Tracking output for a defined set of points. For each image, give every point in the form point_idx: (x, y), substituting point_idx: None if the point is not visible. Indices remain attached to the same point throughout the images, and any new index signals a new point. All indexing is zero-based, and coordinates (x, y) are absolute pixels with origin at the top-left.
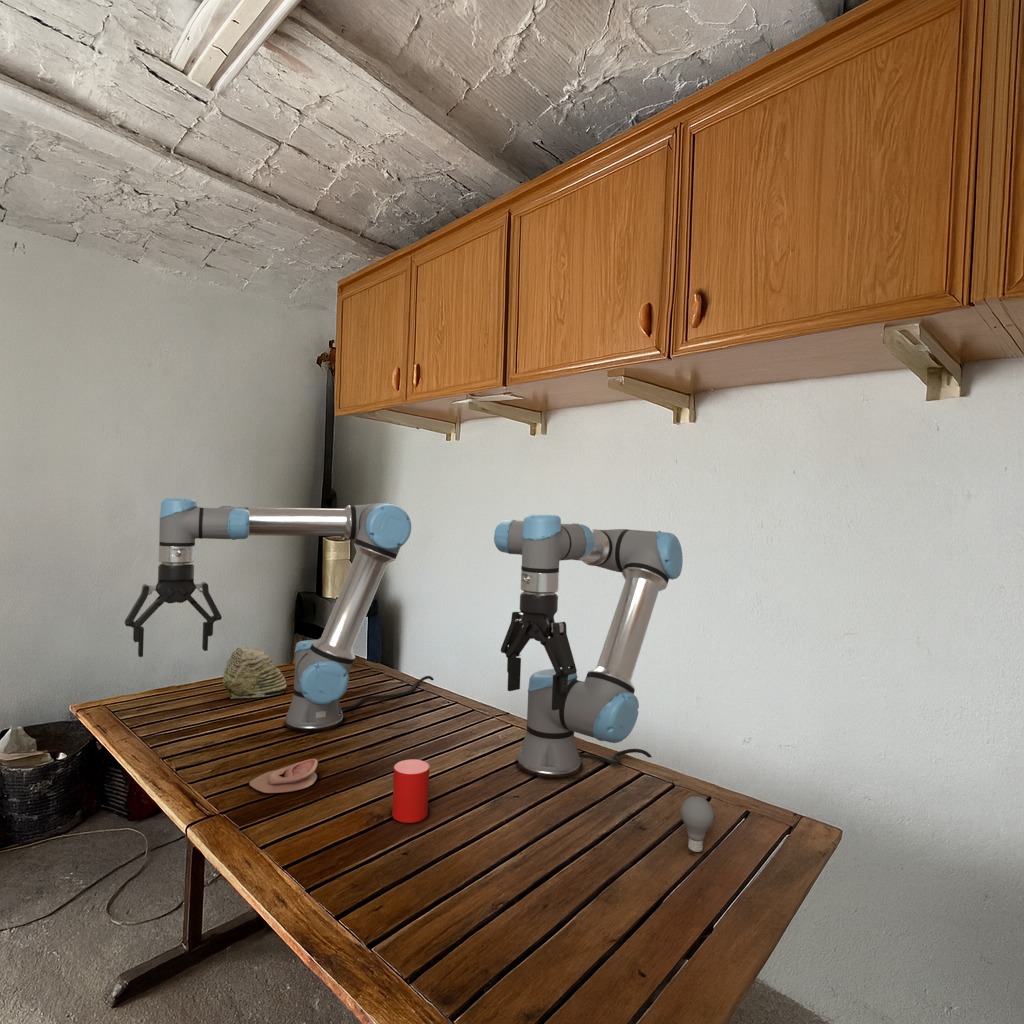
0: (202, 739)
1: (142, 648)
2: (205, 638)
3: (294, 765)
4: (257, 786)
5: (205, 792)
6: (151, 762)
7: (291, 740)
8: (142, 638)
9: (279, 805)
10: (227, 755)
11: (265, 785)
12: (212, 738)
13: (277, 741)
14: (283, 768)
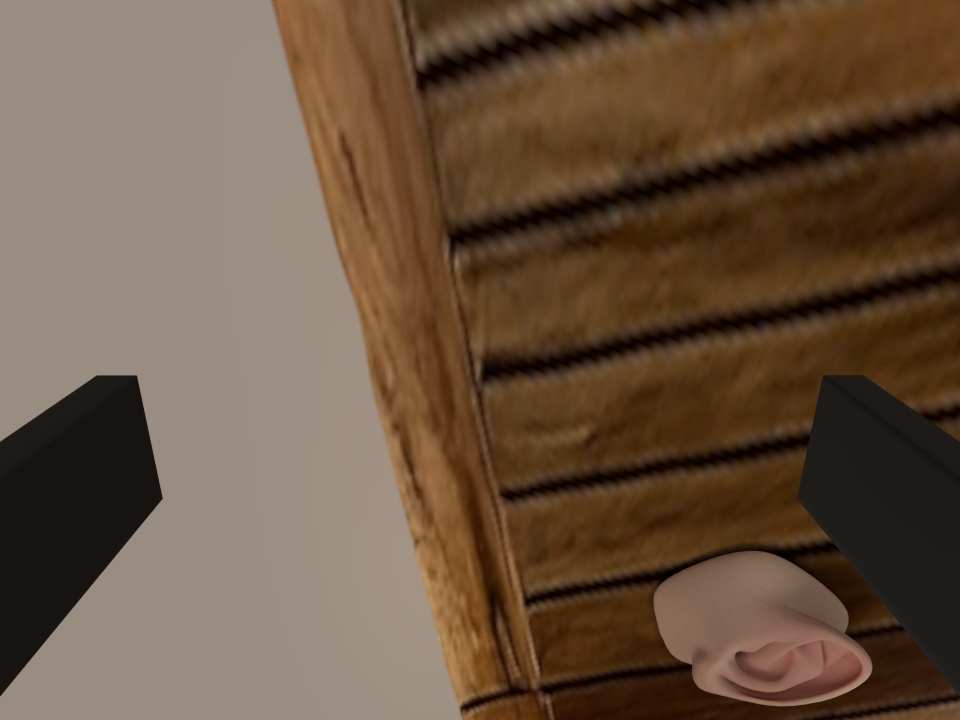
0: (640, 84)
1: (103, 561)
2: (897, 603)
3: (799, 644)
4: (665, 632)
5: (533, 573)
6: (408, 260)
7: (951, 296)
8: (8, 670)
9: (678, 714)
10: (674, 330)
11: (684, 650)
12: (682, 94)
13: (899, 279)
14: (764, 638)
